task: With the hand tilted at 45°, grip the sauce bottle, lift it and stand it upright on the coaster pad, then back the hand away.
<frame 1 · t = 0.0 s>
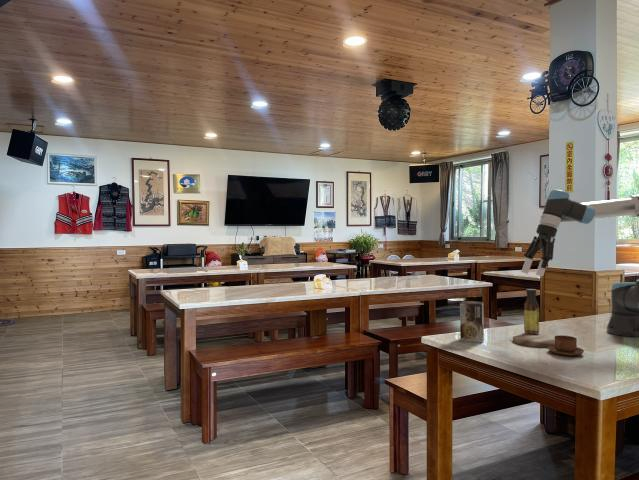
hand: (531, 274, 196), 28 cm above the table, tool tilted 20°, fingers open, 13 cm apart
coaster pad: (533, 342, 192), on the table
coffee box: (471, 341, 197), on the table
cup and saucer: (565, 354, 175), on the table
sauce bottle: (531, 333, 211), on the table
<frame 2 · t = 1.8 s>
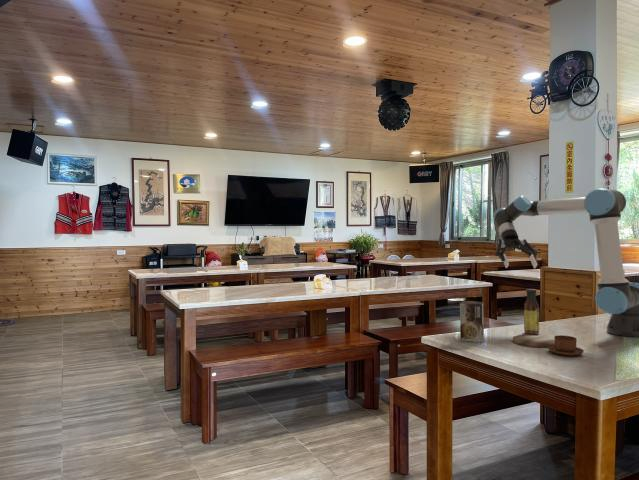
hand: (521, 266, 220), 30 cm above the table, tool tilted 45°, fingers open, 13 cm apart
nothing on the table moved.
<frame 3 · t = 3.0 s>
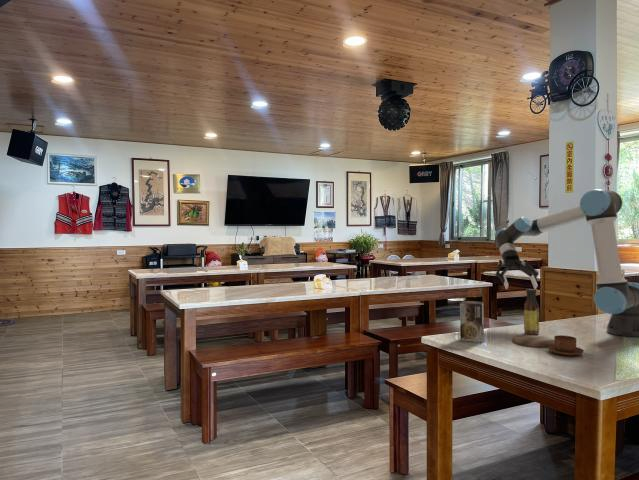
hand: (521, 287, 221), 20 cm above the table, tool tilted 45°, fingers open, 13 cm apart
nothing on the table moved.
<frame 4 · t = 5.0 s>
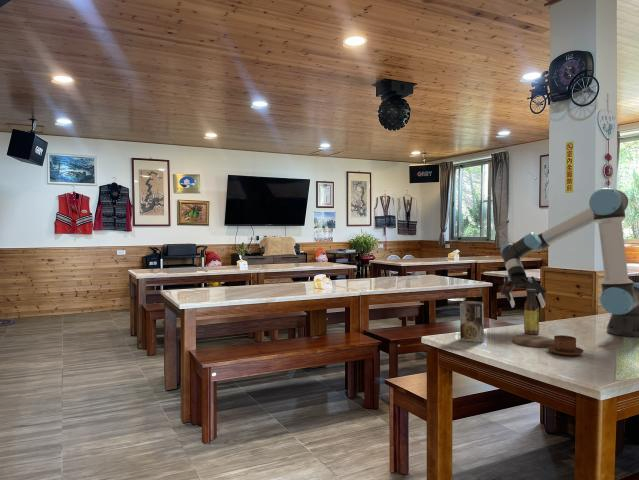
hand: (528, 306, 212), 12 cm above the table, tool tilted 45°, fingers open, 13 cm apart
nothing on the table moved.
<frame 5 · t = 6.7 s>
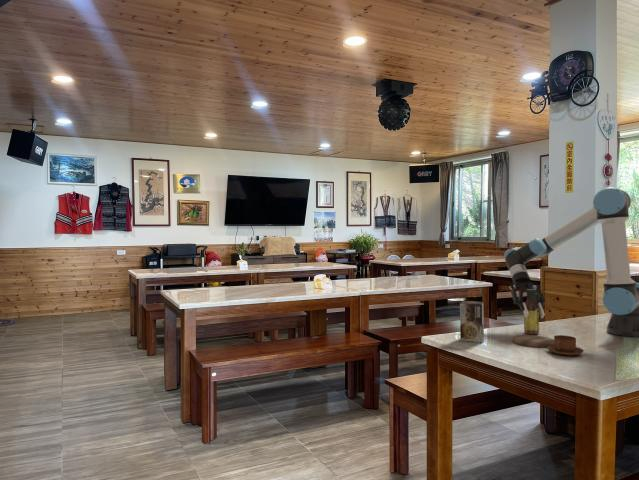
hand: (535, 316, 207), 8 cm above the table, tool tilted 45°, fingers closed on sauce bottle, 6 cm apart
sauce bottle: (531, 333, 211), on the table, touching gripper
everything else where it was.
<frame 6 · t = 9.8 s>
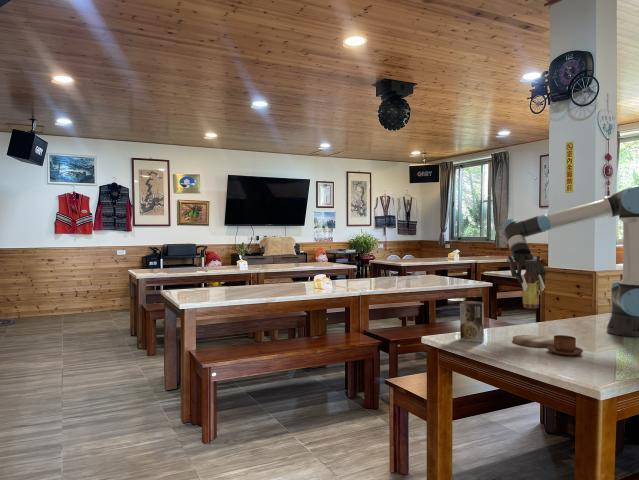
hand: (534, 288, 192), 22 cm above the table, tool tilted 45°, fingers closed on sauce bottle, 6 cm apart
sauce bottle: (530, 308, 195), point 14 cm above the table, touching gripper
everything else where it was.
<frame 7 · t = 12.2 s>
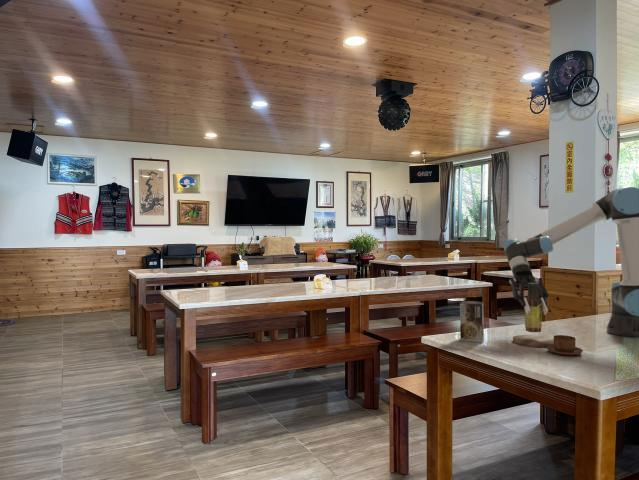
hand: (537, 312, 189), 13 cm above the table, tool tilted 45°, fingers closed on sauce bottle, 6 cm apart
sauce bottle: (533, 331, 192), point 5 cm above the table, touching gripper
everything else where it was.
when the fingers open (11 cm above the table, at t = 13.1 s): sauce bottle drops 1 cm, resting on coaster pad.
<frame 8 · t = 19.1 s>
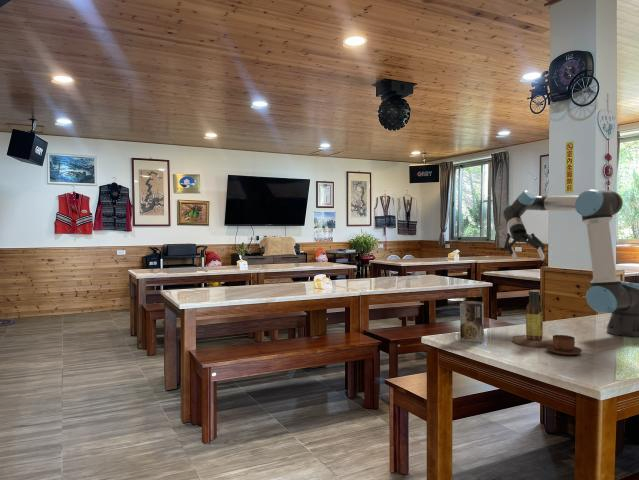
hand: (529, 258, 229), 33 cm above the table, tool tilted 45°, fingers open, 13 cm apart
sauce bottle: (534, 339, 192), point 1 cm above the table, touching coaster pad
everything else where it was.
at the end: sauce bottle 0.2 cm from the coaster pad (horizontally); sauce bottle point 1.3 cm above the table; sauce bottle tilted 0° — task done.
